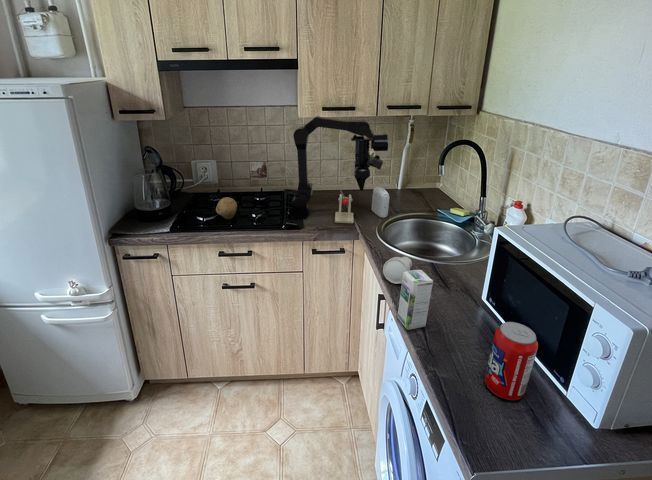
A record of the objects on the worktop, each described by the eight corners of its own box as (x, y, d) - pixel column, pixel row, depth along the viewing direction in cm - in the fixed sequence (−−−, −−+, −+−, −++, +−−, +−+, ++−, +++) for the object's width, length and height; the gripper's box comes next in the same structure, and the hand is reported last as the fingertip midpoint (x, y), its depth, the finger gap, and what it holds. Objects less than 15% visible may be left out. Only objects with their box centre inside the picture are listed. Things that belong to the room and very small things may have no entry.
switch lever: (348, 205, 155) (349, 198, 155) (341, 205, 156) (341, 198, 155) (348, 203, 167) (348, 196, 167) (341, 202, 167) (341, 196, 167)
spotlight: (378, 276, 121) (387, 254, 119) (390, 268, 131) (398, 247, 129) (402, 289, 118) (411, 266, 115) (412, 279, 127) (421, 258, 125)
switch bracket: (353, 223, 164) (354, 200, 160) (334, 222, 165) (335, 199, 161) (353, 215, 173) (354, 192, 169) (335, 214, 174) (336, 191, 170)
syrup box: (396, 317, 104) (401, 271, 99) (415, 314, 106) (421, 268, 101) (406, 330, 99) (413, 283, 94) (426, 327, 101) (434, 279, 96)
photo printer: (388, 217, 171) (391, 191, 167) (380, 218, 170) (382, 192, 165) (378, 209, 180) (380, 184, 176) (370, 210, 179) (372, 185, 175)
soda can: (525, 408, 77) (543, 349, 72) (483, 396, 80) (497, 338, 75) (521, 380, 84) (537, 325, 79) (483, 370, 87) (495, 315, 82)
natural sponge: (215, 223, 163) (213, 201, 159) (219, 215, 171) (217, 194, 167) (236, 223, 163) (235, 201, 159) (239, 215, 171) (238, 194, 168)
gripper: (383, 156, 147) (382, 194, 153) (380, 146, 165) (379, 181, 170) (354, 156, 149) (354, 194, 154) (354, 146, 166) (354, 181, 171)
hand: (361, 187), depth 162 cm, fingers open, 9 cm apart
